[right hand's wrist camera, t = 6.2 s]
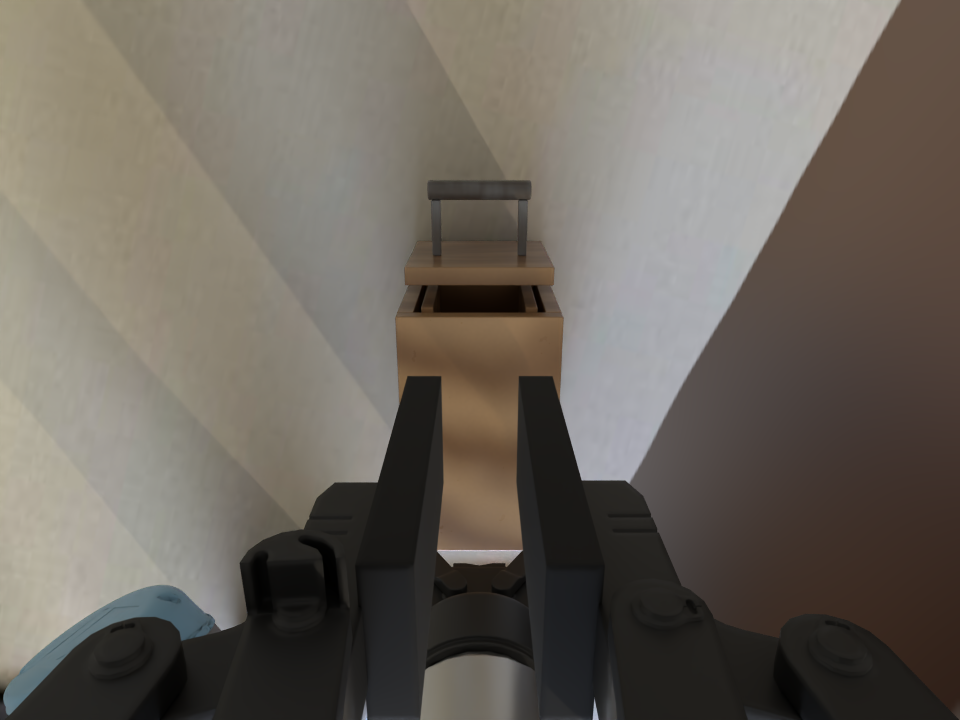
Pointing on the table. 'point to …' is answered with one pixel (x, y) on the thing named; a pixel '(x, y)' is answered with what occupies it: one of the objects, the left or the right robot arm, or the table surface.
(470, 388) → the cabinet
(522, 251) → the drawer
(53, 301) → the table surface
